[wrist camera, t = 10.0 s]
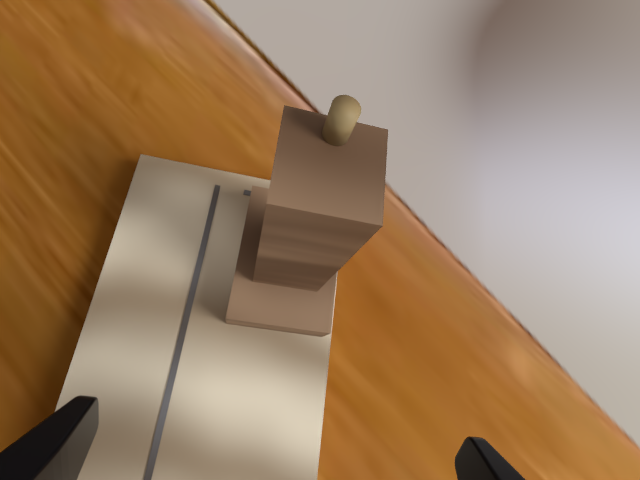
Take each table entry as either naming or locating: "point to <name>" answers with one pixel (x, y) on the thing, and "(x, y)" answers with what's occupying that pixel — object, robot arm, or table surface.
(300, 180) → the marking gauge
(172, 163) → the birch board
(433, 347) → the table surface
